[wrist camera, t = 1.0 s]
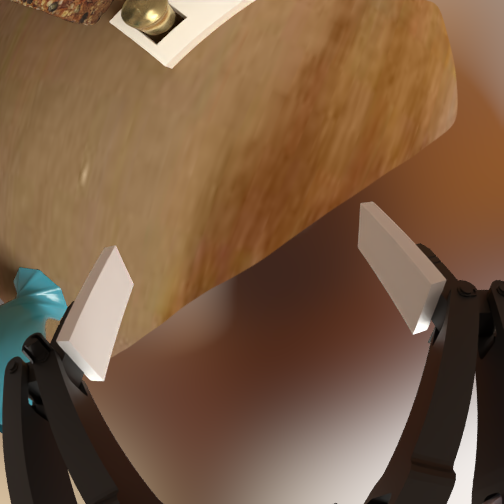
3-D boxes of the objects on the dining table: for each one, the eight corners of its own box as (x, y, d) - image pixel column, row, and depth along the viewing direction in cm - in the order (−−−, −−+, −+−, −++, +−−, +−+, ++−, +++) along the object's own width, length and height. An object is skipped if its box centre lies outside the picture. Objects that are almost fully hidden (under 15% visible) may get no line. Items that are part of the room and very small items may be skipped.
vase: (22, 245, 38) (-61, 372, 13) (86, 303, 46) (37, 444, 22) (3, 288, 43) (-54, 392, 18) (56, 333, 51) (18, 444, 26)
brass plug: (130, 24, 20) (112, 13, 15) (159, -3, 19) (146, -19, 14) (156, 43, 22) (141, 35, 17) (185, 16, 21) (176, 2, 16)
